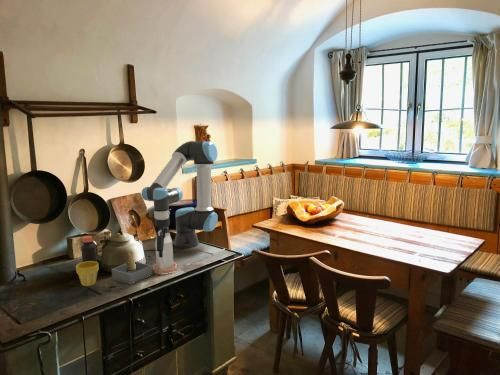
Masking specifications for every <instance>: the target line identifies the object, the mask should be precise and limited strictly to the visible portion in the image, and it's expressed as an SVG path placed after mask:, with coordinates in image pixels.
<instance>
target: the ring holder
mask: <svg viewBox="0 0 500 375" xmlns="http://www.w3.org/2000/svg"><path fill="white" fill-rule="evenodd" d="M173 264H174V267H173V268H171V269H166V270H159V269H158V268H157V263H155V264H153V266H152V273H153V274H154V273H158V274H162V273H169V272H173V271H175V270H176V269H177V270H178V264H177V263H176V262H175V261H173ZM156 268H157V269H156ZM158 274H157V275H158Z"/></svg>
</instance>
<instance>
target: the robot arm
mask: <svg viewBox="0 0 500 375" xmlns="http://www.w3.org/2000/svg"><path fill="white" fill-rule="evenodd" d="M217 157H218V149H217V146H216V144H215V143H213V142H212V141H206V140H205V141H201V140H199V141H197V140H191V141H186V142H185V143H182V144H181V145H179V146H178V147H177V148H176V149H175V150H174V151H173V152H172V154H171V158H170V160H169V161H168V162H167V164H166V165H165V166H164V167H163V169H162V170H161V172H160V173H158V176H156V178H155V180H154V181H153V182H152V184H150V185H149V186H145V187H143V188H142V190H141V197H142V199H143V200H144V201H148V202H153V215H154V216H153V217H154V225H155V227H157V228H158V230H157V231H156V235H157V250H156V249H155V252H156V251H158V254H159V263H165V260H164V250H163V246H164V238H165V234H166V233H170V229H169V226H170V224H171V220H170V219H171V218H170V214H171V212H170V208H169V207H170V205H171V204H174V203H178V202H179V201H181V200H182V199H183V195H184V192H183V191H182V189H181V188H179V187H173V188H167V187H168V186H169V185H170V184H171V181H172V180H173V179H174V178H175V176H176V175H177V173H178V172H179V171H180V170H181V168H182V167H183V166H185V165H186V164H187V162H190V161H193V165H194V166H195V167H196V207H192V206H190V207H189V206H188V207H182V208H179V209H176V211H175V217H174V218H175V230H176V235H175V238H174V241H173V245H174V246H175V247H176V248H180V249H189V248H194V247H197V246H198V245H199V239H198V236H197V233H196V231H203V232H212V231H213V230H215V228H216V227H217V225H218V219H219V218H218V214H217V213H216V212H215V209H214V207H213V206H212V166H213V165H214V162H215V161H217V159H218V158H217Z"/></svg>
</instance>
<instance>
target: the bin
mask: <svg viewBox="0 0 500 375" xmlns="http://www.w3.org/2000/svg"><path fill="white" fill-rule="evenodd" d="M135 261H136V260H135ZM135 264H136V270H133V271H128V272H127V270H126V268H127V264H126V263H123V264H121V265H119V266H116V267H114V268H111V277H112V278H113V280H115V279H116V281H118V280H119V282H121V281H122V282H121V283H125V282H126V283H125V284H128V283H130V284H129V285H132V284H131V283H133V282H136V281H138V280H140V279H142V278H145V277H147V276H149V275H151V276H153V266H152V265H150V264H146V263H143V262H139V261H136V262H135ZM149 277H150V276H149ZM112 278H111V279H112ZM147 278H148V277H147ZM145 279H146V278H145ZM142 280H143V279H142ZM140 281H141V280H140ZM138 282H139V281H138ZM136 283H137V282H136ZM133 284H134V283H133Z"/></svg>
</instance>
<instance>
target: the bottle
mask: <svg viewBox="0 0 500 375" xmlns="http://www.w3.org/2000/svg"><path fill="white" fill-rule="evenodd" d="M81 238H82V239H81V242H82V245H81V246H80V247H81V248H80V251H81V260H82V262H87V261H95V262H97V251H96V250H97V249H96V245H95V244H94V243H93V242H94V240H93V235H85V236H83V237H81ZM82 262H81V263H82ZM98 271H99V270H98ZM98 271H97V273H99V272H98Z"/></svg>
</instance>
